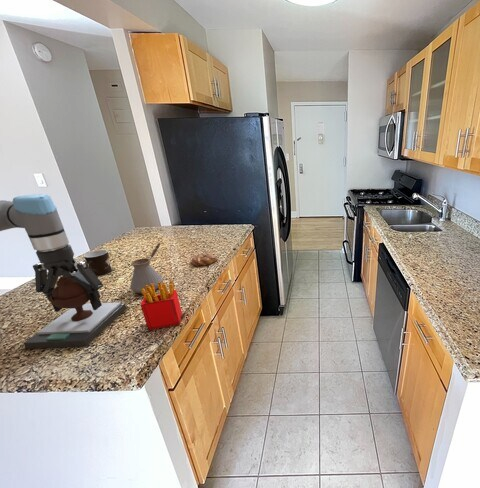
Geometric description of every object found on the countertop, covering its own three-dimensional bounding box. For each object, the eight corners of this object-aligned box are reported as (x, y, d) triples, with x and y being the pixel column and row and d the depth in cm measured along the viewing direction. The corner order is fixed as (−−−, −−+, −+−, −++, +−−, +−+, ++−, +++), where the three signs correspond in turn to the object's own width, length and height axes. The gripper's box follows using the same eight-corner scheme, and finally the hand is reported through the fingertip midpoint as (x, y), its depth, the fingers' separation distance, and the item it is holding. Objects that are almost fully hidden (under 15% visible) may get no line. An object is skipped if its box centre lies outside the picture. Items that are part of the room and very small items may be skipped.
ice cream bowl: (51, 322, 84) (32, 282, 78) (90, 303, 93) (75, 266, 88) (72, 330, 80) (53, 288, 75) (110, 309, 90) (96, 271, 84)
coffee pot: (155, 296, 103) (145, 262, 98) (125, 297, 103) (114, 263, 97) (180, 271, 123) (173, 242, 118) (155, 271, 123) (147, 242, 117)
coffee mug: (103, 268, 126) (96, 249, 123) (119, 269, 125) (112, 250, 121) (79, 279, 116) (71, 259, 112) (96, 281, 114) (88, 260, 111)
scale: (26, 349, 77) (21, 340, 76) (78, 310, 95) (75, 303, 94) (86, 346, 78) (82, 338, 77) (126, 308, 96) (124, 301, 95)
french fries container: (153, 318, 90) (142, 284, 85) (182, 313, 94) (174, 279, 88) (148, 331, 84) (136, 295, 79) (179, 325, 87) (170, 289, 82)
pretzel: (220, 257, 138) (219, 251, 136) (212, 266, 128) (211, 260, 126) (197, 257, 137) (196, 251, 136) (188, 267, 127) (186, 260, 126)
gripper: (103, 241, 82) (123, 300, 90) (23, 243, 80) (51, 303, 88) (84, 251, 75) (108, 313, 83) (-4, 253, 73) (29, 317, 81)
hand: (79, 308), depth 86 cm, fingers closed on ice cream bowl, 11 cm apart
